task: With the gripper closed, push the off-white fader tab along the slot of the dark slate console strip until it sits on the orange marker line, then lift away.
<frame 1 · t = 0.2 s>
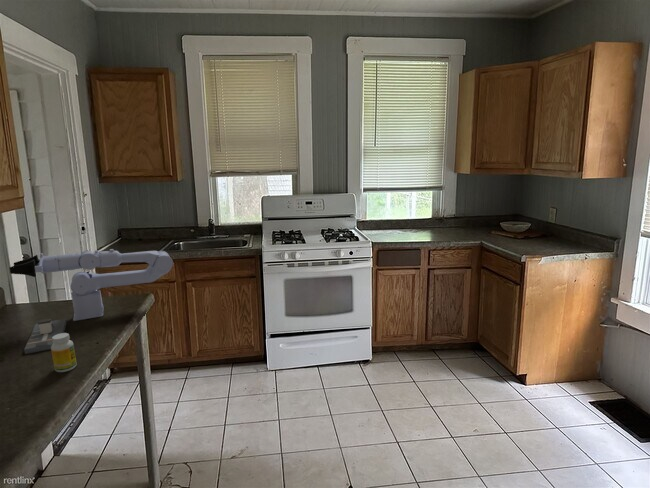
hand: (12, 268, 147), 21 cm above the table, tool horizontal, fingers open, 7 cm apart
supplement bottle: (66, 368, 121), on the table
console: (47, 337, 142), on the table
fader tab: (45, 326, 141), point 4 cm above the table, slide at 3.0 cm
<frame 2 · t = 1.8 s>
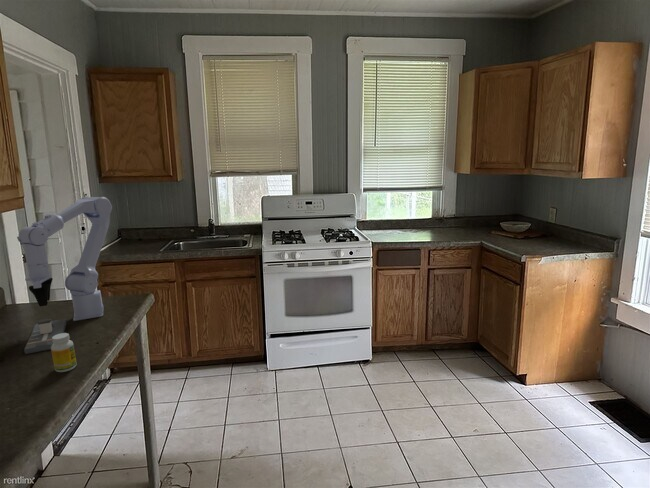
hand: (44, 303, 145), 10 cm above the table, tool pointing down, fingers open, 5 cm apart
nothing on the table moved.
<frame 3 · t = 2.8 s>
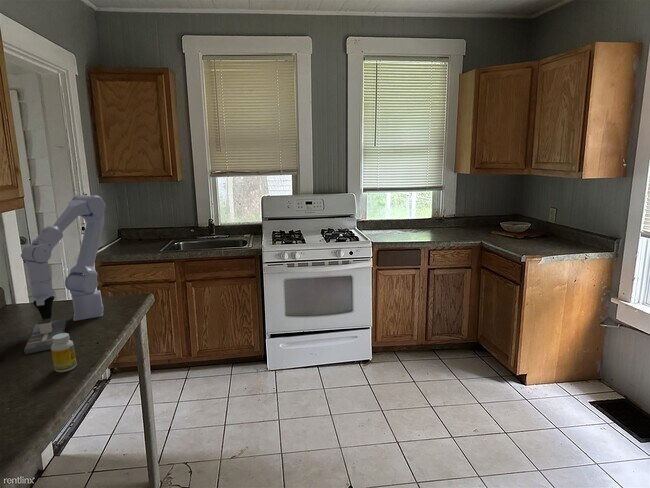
hand: (47, 319, 146), 4 cm above the table, tool pointing down, fingers closed
nothing on the table moved.
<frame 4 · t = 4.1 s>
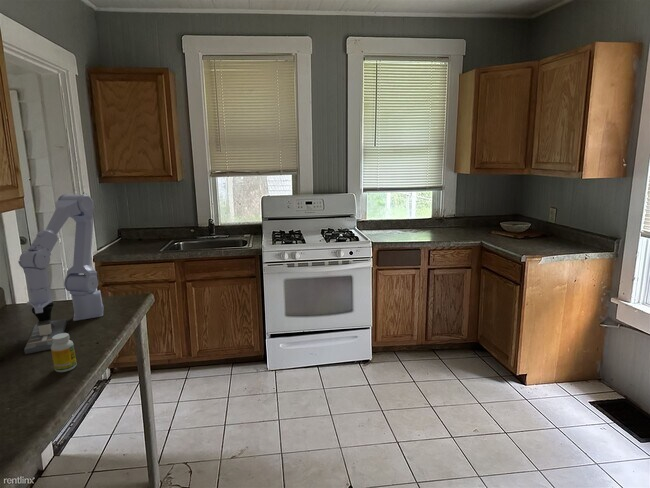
hand: (46, 327, 143), 3 cm above the table, tool pointing down, fingers closed
fader tab: (44, 327, 140), point 4 cm above the table, slide at 4.4 cm, touching gripper
everything else where it was.
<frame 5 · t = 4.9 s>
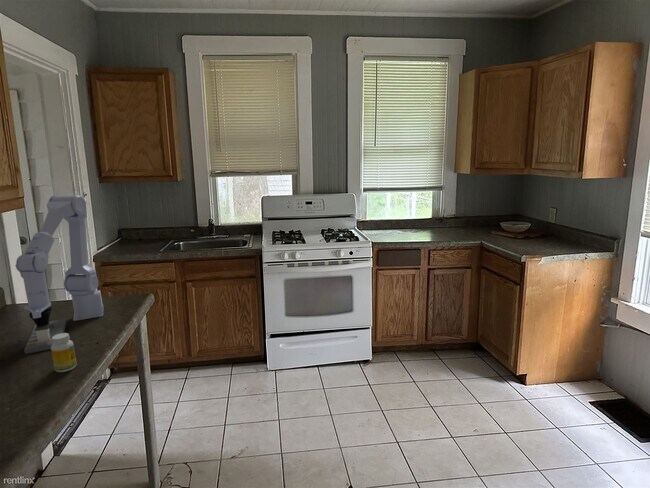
hand: (44, 332, 139), 3 cm above the table, tool pointing down, fingers closed
fader tab: (42, 332, 136), point 4 cm above the table, slide at 8.9 cm, touching gripper
everything else where it was.
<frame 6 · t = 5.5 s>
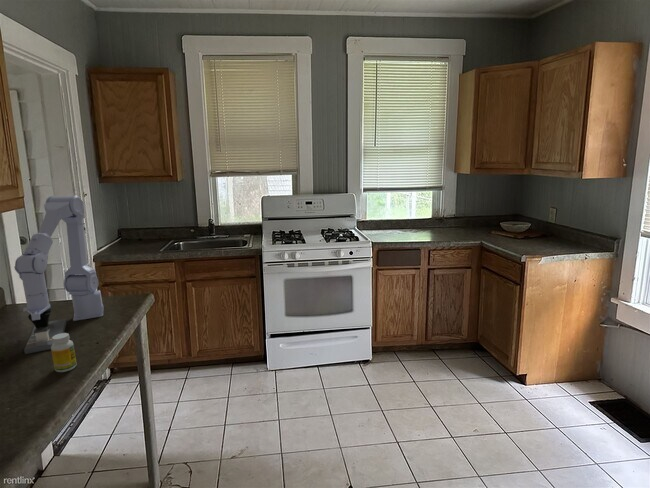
hand: (43, 334, 137), 3 cm above the table, tool pointing down, fingers closed
fader tab: (42, 335, 134), point 4 cm above the table, slide at 10.7 cm, touching gripper
everything else where it was.
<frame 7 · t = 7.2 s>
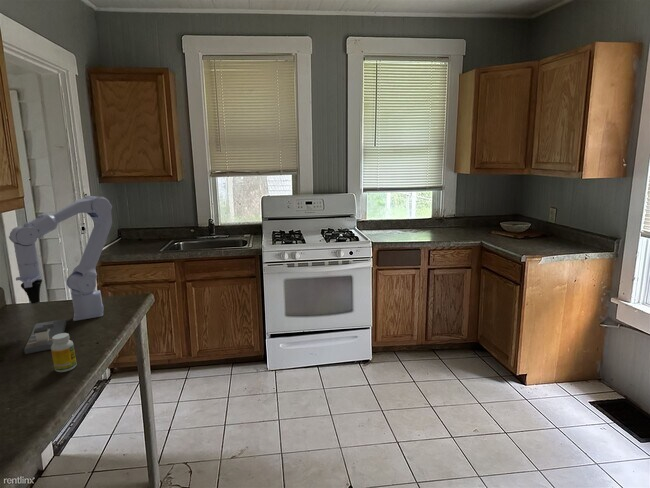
hand: (35, 302, 146), 10 cm above the table, tool pointing down, fingers closed
fader tab: (42, 335, 134), point 4 cm above the table, slide at 10.7 cm
everything else where it was.
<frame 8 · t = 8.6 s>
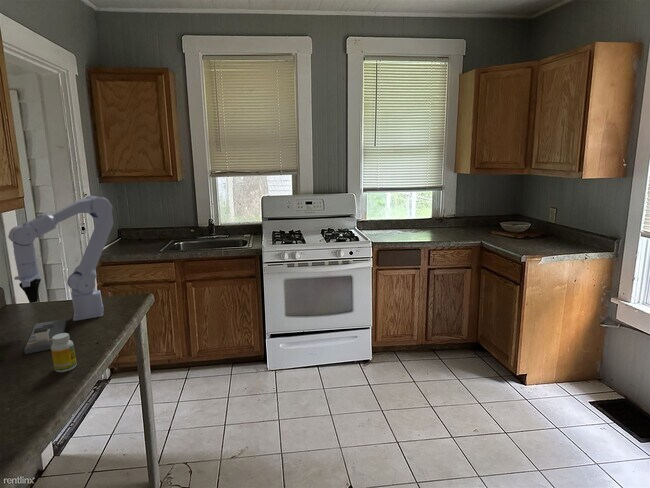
hand: (33, 301, 146), 10 cm above the table, tool pointing down, fingers closed
nothing on the table moved.
at the end: fader tab slide at 10.7 cm; the gripper is holding nothing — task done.
